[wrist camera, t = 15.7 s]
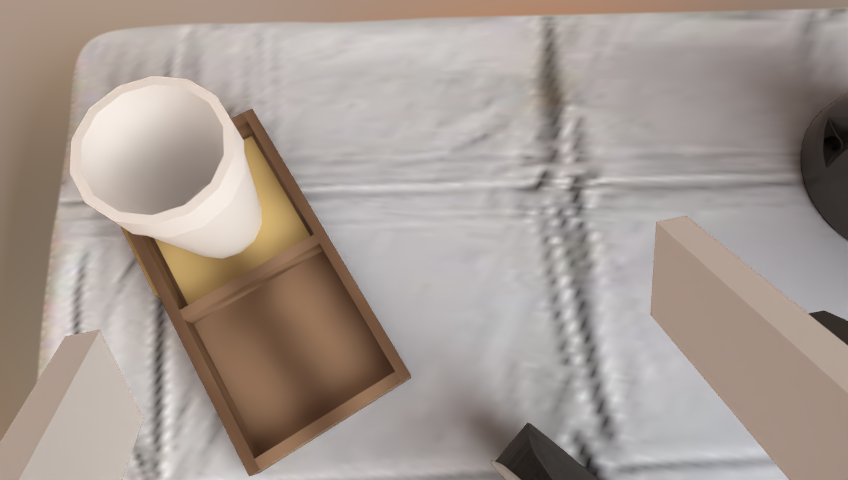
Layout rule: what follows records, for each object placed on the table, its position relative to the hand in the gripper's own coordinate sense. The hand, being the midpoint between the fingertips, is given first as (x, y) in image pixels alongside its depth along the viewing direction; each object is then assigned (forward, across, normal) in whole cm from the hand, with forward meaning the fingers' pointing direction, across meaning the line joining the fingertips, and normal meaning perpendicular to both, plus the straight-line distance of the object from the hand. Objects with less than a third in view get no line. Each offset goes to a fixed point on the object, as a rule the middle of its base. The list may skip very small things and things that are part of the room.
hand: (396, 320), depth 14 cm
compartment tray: (+29, -10, -15) cm, 34 cm away
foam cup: (+33, -12, -11) cm, 36 cm away
